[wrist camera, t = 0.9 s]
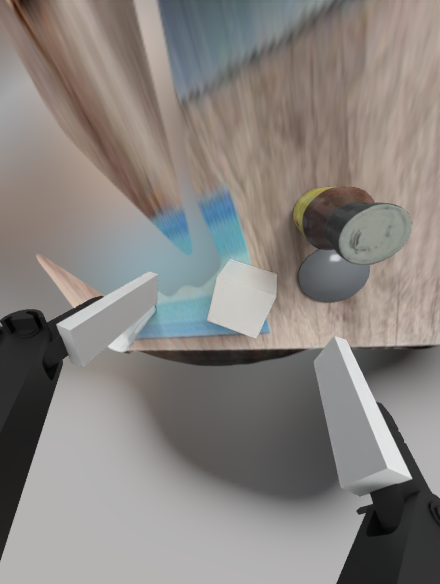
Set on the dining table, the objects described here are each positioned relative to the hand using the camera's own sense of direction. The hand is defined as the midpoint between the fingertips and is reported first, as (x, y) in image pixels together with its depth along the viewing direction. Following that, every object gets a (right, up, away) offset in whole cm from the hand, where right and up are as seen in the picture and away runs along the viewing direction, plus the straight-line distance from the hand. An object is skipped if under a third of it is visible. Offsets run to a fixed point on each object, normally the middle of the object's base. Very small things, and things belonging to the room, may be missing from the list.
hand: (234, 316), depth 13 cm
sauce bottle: (+14, +15, +15) cm, 26 cm away
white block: (+5, +3, +25) cm, 26 cm away
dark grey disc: (+19, +5, +19) cm, 28 cm away
